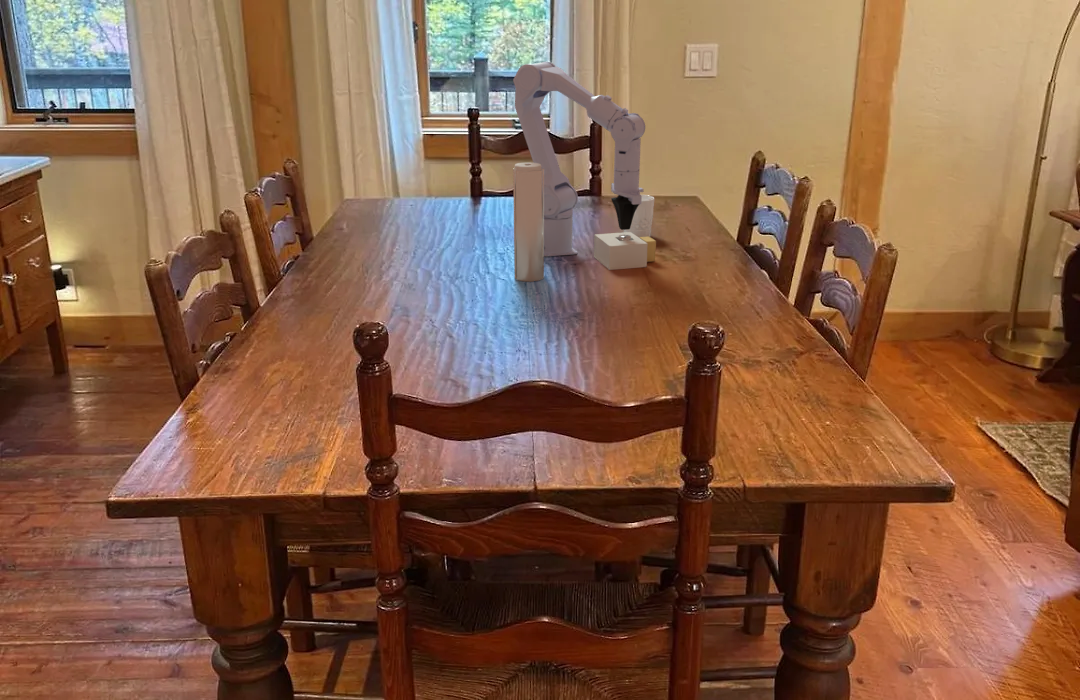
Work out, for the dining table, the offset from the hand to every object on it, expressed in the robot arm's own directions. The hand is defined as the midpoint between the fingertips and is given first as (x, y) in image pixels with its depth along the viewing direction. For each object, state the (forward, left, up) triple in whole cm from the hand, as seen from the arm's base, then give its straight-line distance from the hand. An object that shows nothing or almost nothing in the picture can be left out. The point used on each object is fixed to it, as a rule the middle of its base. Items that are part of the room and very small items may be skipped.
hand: (624, 228), depth 216 cm
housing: (-1, 0, -8) cm, 8 cm away
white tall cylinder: (-24, -7, -8) cm, 27 cm away
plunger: (0, 0, -4) cm, 4 cm away
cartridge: (+2, 0, -8) cm, 8 cm away
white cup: (+12, +21, -8) cm, 26 cm away
